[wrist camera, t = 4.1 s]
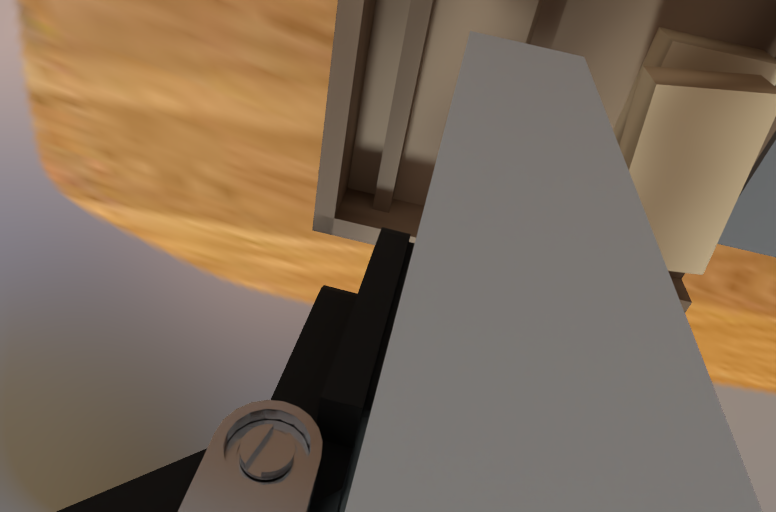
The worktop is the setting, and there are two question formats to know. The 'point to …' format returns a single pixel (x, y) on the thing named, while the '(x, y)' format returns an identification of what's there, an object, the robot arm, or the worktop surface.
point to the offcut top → (694, 154)
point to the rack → (439, 77)
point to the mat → (755, 208)
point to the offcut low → (699, 61)
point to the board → (541, 322)
